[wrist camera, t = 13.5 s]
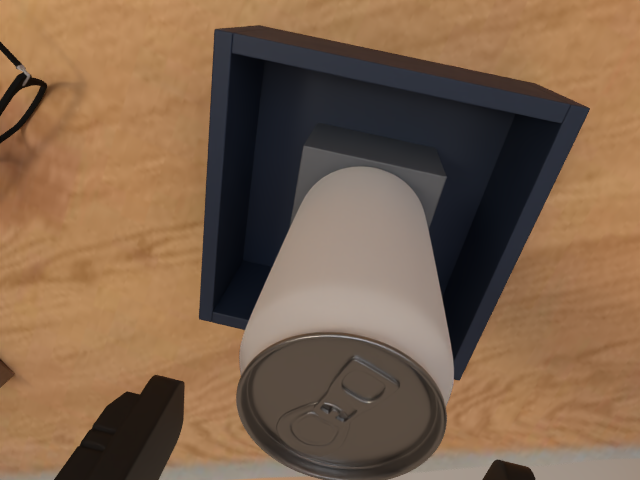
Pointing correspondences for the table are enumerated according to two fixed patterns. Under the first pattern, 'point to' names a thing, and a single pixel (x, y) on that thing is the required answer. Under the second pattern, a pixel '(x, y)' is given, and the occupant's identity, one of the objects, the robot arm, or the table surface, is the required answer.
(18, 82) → the eyeglasses
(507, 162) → the crate
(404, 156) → the grey block
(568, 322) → the table surface
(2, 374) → the wooden block set
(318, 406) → the can
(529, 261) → the table surface
